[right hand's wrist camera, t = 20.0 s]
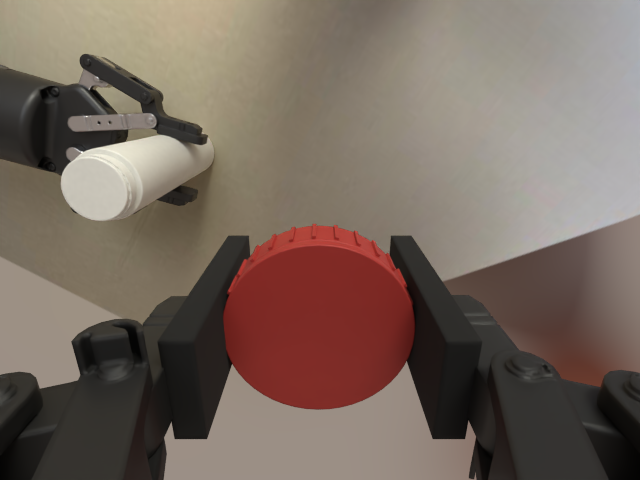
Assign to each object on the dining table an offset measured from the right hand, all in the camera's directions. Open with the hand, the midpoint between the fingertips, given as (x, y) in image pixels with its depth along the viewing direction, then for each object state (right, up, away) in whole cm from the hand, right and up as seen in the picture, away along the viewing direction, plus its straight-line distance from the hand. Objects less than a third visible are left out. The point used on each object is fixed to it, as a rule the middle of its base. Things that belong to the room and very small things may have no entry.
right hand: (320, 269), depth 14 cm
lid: (0, -1, -4) cm, 4 cm away
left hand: (-11, +7, +19) cm, 23 cm away
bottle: (-13, +10, +25) cm, 31 cm away
